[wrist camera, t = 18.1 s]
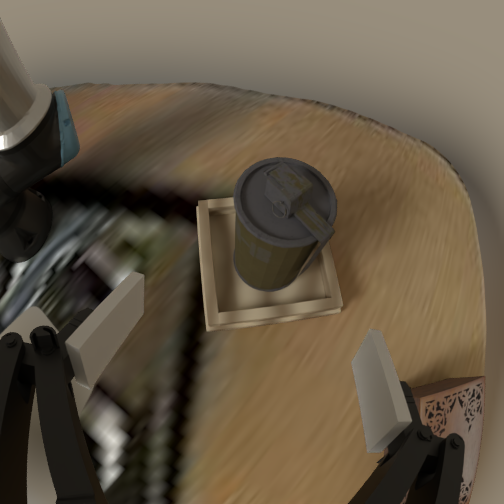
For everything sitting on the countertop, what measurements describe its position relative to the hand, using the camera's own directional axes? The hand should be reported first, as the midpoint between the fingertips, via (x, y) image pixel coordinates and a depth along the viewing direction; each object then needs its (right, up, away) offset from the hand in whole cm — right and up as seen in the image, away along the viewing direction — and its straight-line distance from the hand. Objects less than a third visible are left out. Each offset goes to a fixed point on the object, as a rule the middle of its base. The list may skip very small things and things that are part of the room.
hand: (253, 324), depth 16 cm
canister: (+2, +3, +29) cm, 29 cm away
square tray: (+2, +3, +30) cm, 30 cm away
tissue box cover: (+29, -31, +19) cm, 46 cm away
